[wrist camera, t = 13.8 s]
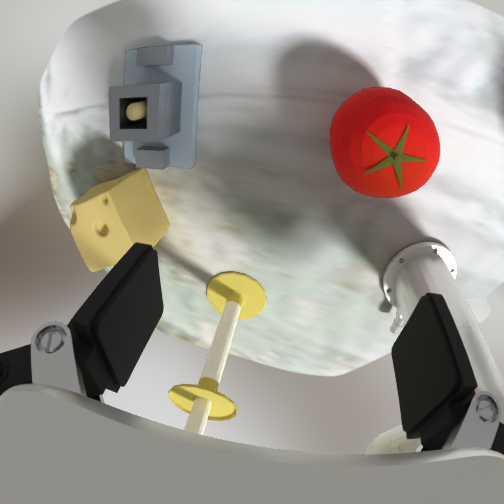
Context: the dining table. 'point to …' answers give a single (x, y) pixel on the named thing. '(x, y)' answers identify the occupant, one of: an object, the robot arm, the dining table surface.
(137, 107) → the stand
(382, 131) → the tomato
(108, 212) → the cheese
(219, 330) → the yellow disc stand
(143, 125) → the brushed steel block
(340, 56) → the dining table surface
